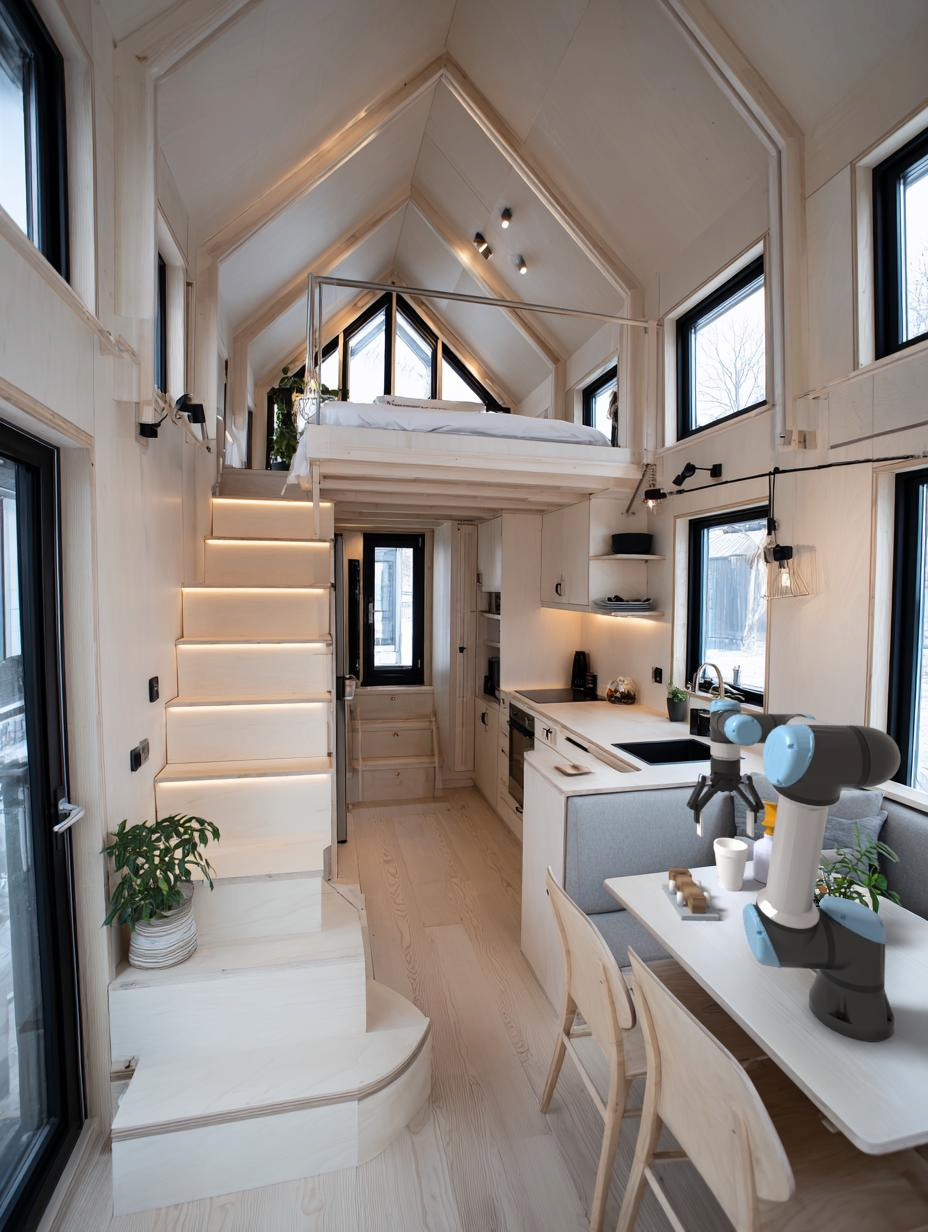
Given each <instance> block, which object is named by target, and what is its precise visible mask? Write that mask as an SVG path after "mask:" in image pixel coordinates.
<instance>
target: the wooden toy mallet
mask: <svg viewBox="0 0 928 1232" xmlns="http://www.w3.org/2000/svg"><path fill="white" fill-rule="evenodd" d="M669 880H675V881H676V890H677V891H680V892H683V893H684V902H685V903H686V905H687V907H688V908H689V910H690V911H691V913H692V914H706V898H705V896H704V893H703V892H702V890H701V891H700V890H699V888H698V887H697V886H696V884H695V880H693V874H692V873H691V871H690V870H689V869H688V868H670V867H669V868H668V881H669Z"/></svg>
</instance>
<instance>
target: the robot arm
mask: <svg viewBox="0 0 928 1232" xmlns="http://www.w3.org/2000/svg"><path fill="white" fill-rule="evenodd" d="M740 703H741V702H739V701H738V700H734V699H723V698H722V699H713V700H712V701H711V702H710V710H709V715H710V719H709V720H710V755H711V757H710V758H709V759H710V764H709V765H710V774H709V775H707V774H703V773H699V774H698V776H697V778H698V779H697V782H696V784H695V787H694V789H693V790H692V793H691V794H690V797H689V799H688V801H687V802H686V807H687V808H688V809H689V810H691V811H693V822H694V823H695V824H696V834H697V835H698V836H700V838H703V837H705V835H704V833H705V832H704V829H705V828H704V827H705V825H704V817H705V816H704V815H705V812H704V811H703V809H704V808H705V807H706V806H707V804H708V803H709V802H710V801H711V800H712V798H713V797H714V796H715V795H716V794H718V793H719V792H720V793H726V792H727V793H733V792H735V793H736V794H737V795H738V797H739V798H740V799H741V800H742V801H743V802H744V803H745V805H746V806H747V807H748V809H746V834H747V835H748V836H749V837H751V838H754V837H755V825H756V824H757V823H758V814H759V813H760V811H761V810H762V811H764V810H765V805H764V802H762V801H763V800H762V799H761V797H760V795H759V793H758V791H757V789H756V787H755V785H754V780H753V779H754V778H753V776H752V775H750V774H748V773H744V774H743V775H742V774H741V759H740V757H741V746H742V747H750V746H751V747H752V746H753V745H755V744H764V747H763V751H762V760H763V771H764V774H765V777H766V779H767V780H768V782H769V783H770V784H771V786H772V788H773V790H774V792H775V793H777V795H778V799H777V804H778V806H777V814H776V821H775V828H773V831H774V835H773V843H772V850H771V857H770V864H769V872H768V879H767V884H766V887H764V888H762V889H760V890H759V891H758V892H757V895H756V900H755V904H754V903H748V904H745V905H744V906H743V909H742V918H743V927H744V932H745V935H746V940H747V943H748V945H749V949H750V950H751V952H752V955H753V956H754V959H756V962H758V963H759V964H760V965H763V966H764V967H771V968H772V967H773V968H777V969H783V968H784V969H805V970H806V969H809V970H810V969H812V970H817V973H816V975H815V978H814V980H813V983H812V984H811V987H810V988H809V991H808V1007H809V1010H810V1011H811V1013H812V1014H813V1015H814V1016H815V1017H816V1019H817V1020H819V1021H820V1022H821V1023H822V1024H824V1025H825V1026H826V1027H829V1028H830V1029H832V1030H833V1031H835V1032H837V1033H839V1034H841V1035H844V1036H847V1037H849V1038H852V1039H856V1040H861V1041H867V1042H881V1041H885V1040H888V1039H890V1038H891V1037H892V1036H893V1035H894V1033H895V1017H894V1014H893V1010H892V1008H891V1004H890V1001H889V998H888V995H887V992H886V987H885V980H886V977H885V976H886V944H887V942H888V941H887V933H886V925H885V922H884V920H883V919H882V918H881V917H882V916H880V915H879V914H878V913H877V912H875V911H874V910H873V909H871V908H870V907H867V906H866V905H863V904H861V903H859V902H857V901H854V900H852V899H849V898H848V899H845V898H841V897H835V896H826V897H824V898H822V899H821V900H820V902H819V906H820V907H816V903H814V900H815V899H814V893H815V889H816V887H817V880H818V873H819V868H820V862H821V856H822V849H823V845H824V844H823V843H824V838H825V837H824V836H825V831H826V825H827V819H828V812H829V808H831V807H833V806H836V805H837V804H838V803H839V802H840V797H841V793H842V789H843V788H845V789H846V788H848V789H849V788H852V789H854V788H856V789H857V788H859V789H865V788H873V787H877V786H880V785H882V784H884V783H886V782H888V781H889V780H890V779H892V778H893V777H894V776H895V775H896V773H897V772H898V771H899V768H900V764H901V753H900V750H899V746H898V744H897V743H896V741H895V740H894V739H893V738H892V737H891V736H890V735H888V734H887V733H886V732H884V731H883V730H880V729H878V728H875V727H871V726H867V725H865V726H864V725H858V724H854V725H851V724H848V725H843V724H842V725H840V724H838V725H837V724H833V723H829V722H827V721H821V720H817V719H816V718H815V717H814V715H811V714H804V713H749V712H747V713H746V712H744V713H743V712H742V709H741V704H740ZM709 781H710V785H708V787H707V790H705V792H704V793H703V791H704V789H705V787H706V785H707V784H708V782H709ZM741 782H743V783H744V784H745V786H746V788H747V791H748V792H749V794H750V796H751V798H752V800H751V799H750V798H749V796H748V795H746V793H745V792H744V790H743V789H742V788H741V787H740V786H739V785H740V784H741ZM702 793H703V794H702ZM752 801H753V802H752Z"/></svg>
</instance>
